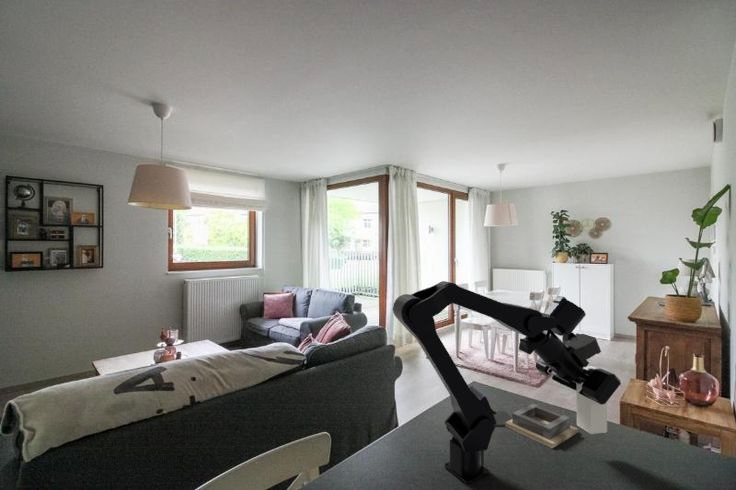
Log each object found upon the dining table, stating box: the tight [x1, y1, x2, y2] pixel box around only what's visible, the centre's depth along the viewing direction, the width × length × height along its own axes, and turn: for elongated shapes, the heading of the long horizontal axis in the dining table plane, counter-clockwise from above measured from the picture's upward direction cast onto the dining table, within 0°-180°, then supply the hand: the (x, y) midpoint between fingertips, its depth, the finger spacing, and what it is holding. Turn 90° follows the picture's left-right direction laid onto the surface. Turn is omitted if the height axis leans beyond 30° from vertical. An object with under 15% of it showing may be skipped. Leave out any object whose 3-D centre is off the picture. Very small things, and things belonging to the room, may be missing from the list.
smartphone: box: [494, 410, 512, 427], centre depth 93 cm, size 7×1×15 cm
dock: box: [504, 403, 579, 449], centre depth 88 cm, size 12×12×4 cm
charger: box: [576, 365, 608, 435], centre depth 78 cm, size 4×4×13 cm
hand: (596, 398), depth 78 cm, fingers closed on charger, 4 cm apart
